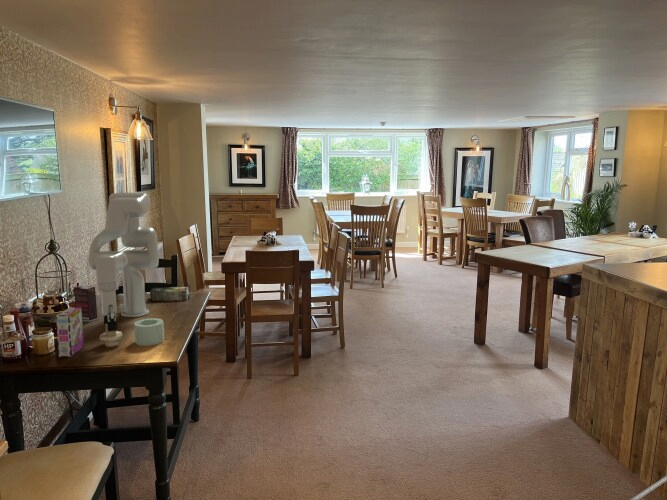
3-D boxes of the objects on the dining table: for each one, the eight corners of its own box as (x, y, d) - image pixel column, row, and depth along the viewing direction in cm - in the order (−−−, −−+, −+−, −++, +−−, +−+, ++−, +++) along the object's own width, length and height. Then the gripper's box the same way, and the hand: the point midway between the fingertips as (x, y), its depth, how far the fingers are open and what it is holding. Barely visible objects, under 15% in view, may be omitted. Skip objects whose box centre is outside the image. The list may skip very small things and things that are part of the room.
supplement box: (98, 319, 226) (95, 286, 223) (90, 322, 221) (87, 289, 219) (83, 317, 229) (81, 285, 226) (75, 320, 224) (72, 287, 222)
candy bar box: (72, 357, 181) (68, 315, 178) (58, 357, 181) (54, 315, 178) (85, 346, 192) (81, 306, 189) (71, 346, 192) (68, 306, 189)
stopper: (98, 343, 196) (97, 323, 194) (121, 339, 200) (120, 320, 199) (101, 349, 189) (100, 329, 187) (124, 345, 193) (123, 326, 192)
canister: (129, 344, 195) (128, 325, 194) (146, 335, 206) (145, 317, 204) (153, 347, 192) (152, 327, 191) (169, 337, 203) (168, 319, 202)
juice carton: (190, 295, 270) (189, 285, 269) (189, 300, 261) (189, 289, 260) (152, 298, 266) (151, 287, 265) (150, 303, 256) (149, 291, 255)
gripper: (94, 282, 196) (97, 323, 198) (100, 291, 181) (103, 335, 184) (114, 280, 200) (117, 320, 202) (121, 289, 185) (124, 331, 188)
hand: (110, 327), depth 193 cm, fingers open, 9 cm apart
